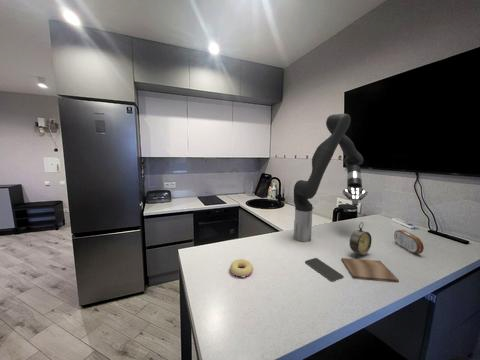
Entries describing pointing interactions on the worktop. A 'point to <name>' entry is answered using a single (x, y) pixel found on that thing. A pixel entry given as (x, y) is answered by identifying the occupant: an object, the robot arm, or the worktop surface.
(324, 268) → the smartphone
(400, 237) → the tin
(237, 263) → the donut
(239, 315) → the worktop surface
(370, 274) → the walnut board
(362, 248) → the alarm clock
